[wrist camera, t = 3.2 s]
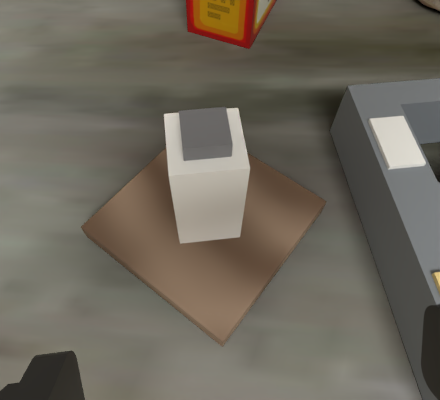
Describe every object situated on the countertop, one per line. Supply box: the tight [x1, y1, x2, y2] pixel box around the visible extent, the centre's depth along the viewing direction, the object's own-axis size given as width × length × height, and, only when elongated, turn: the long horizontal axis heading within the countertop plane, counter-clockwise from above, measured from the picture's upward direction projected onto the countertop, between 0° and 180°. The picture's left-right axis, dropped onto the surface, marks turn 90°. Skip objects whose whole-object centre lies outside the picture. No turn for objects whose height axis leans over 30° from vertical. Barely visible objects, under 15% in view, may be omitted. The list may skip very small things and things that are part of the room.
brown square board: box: [81, 148, 326, 347], centre depth 28 cm, size 12×12×2 cm
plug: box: [164, 107, 250, 244], centre depth 23 cm, size 4×4×9 cm
